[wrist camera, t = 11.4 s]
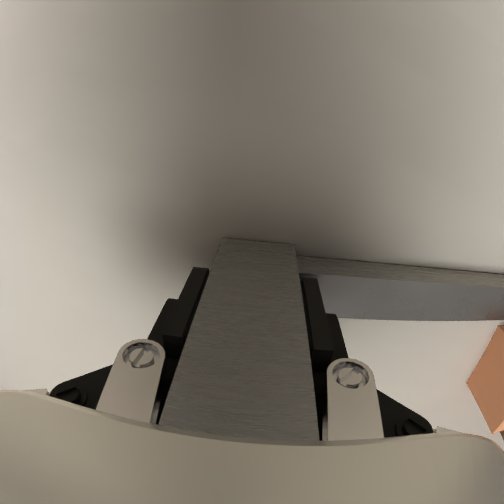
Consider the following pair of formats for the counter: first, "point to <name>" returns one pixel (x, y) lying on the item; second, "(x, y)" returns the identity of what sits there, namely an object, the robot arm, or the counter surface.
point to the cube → (490, 382)
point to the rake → (295, 332)
